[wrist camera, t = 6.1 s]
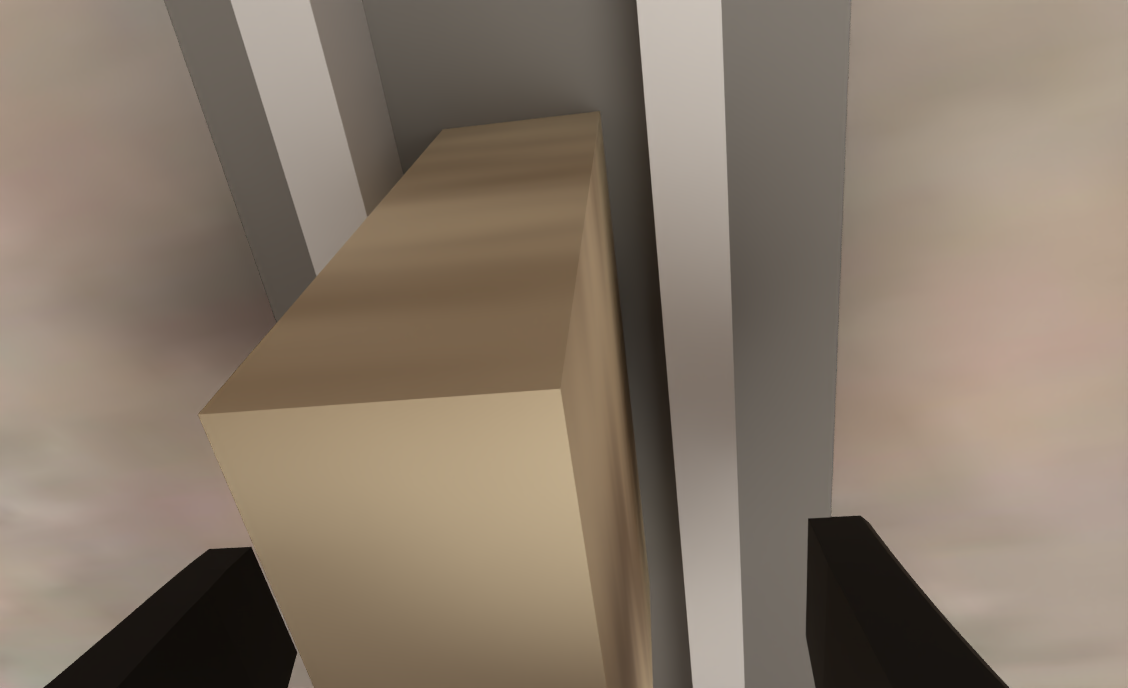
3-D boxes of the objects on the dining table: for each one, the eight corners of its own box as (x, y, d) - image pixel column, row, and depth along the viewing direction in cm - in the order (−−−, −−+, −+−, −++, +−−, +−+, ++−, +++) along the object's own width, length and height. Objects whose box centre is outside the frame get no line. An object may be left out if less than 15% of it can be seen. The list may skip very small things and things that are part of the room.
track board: (812, 737, 20) (862, 962, 16) (443, 743, 22) (396, 953, 17) (851, -569, 9) (1062, -1022, 5) (69, -393, 10) (-344, -619, 6)
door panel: (649, 581, 17) (665, 1062, 10) (535, 586, 17) (470, 1054, 10) (599, 111, 12) (559, 389, 5) (443, 129, 12) (198, 414, 5)
